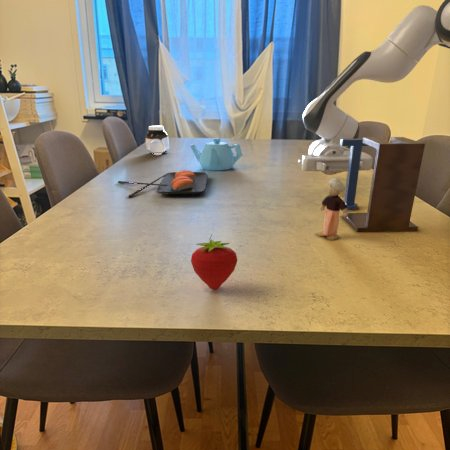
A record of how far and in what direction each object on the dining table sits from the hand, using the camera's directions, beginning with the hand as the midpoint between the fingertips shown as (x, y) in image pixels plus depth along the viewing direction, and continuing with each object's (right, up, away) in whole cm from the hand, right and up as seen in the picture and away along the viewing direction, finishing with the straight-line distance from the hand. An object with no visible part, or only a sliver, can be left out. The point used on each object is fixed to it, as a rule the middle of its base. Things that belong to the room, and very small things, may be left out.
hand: (343, 167), depth 120 cm
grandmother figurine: (-10, -23, -25) cm, 35 cm away
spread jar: (-64, +31, +79) cm, 106 cm away
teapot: (-36, +15, +48) cm, 62 cm away
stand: (+4, -18, -16) cm, 25 cm away
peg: (0, -12, -4) cm, 13 cm away
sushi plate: (-54, 0, +19) cm, 57 cm away
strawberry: (-35, -35, -48) cm, 69 cm away
